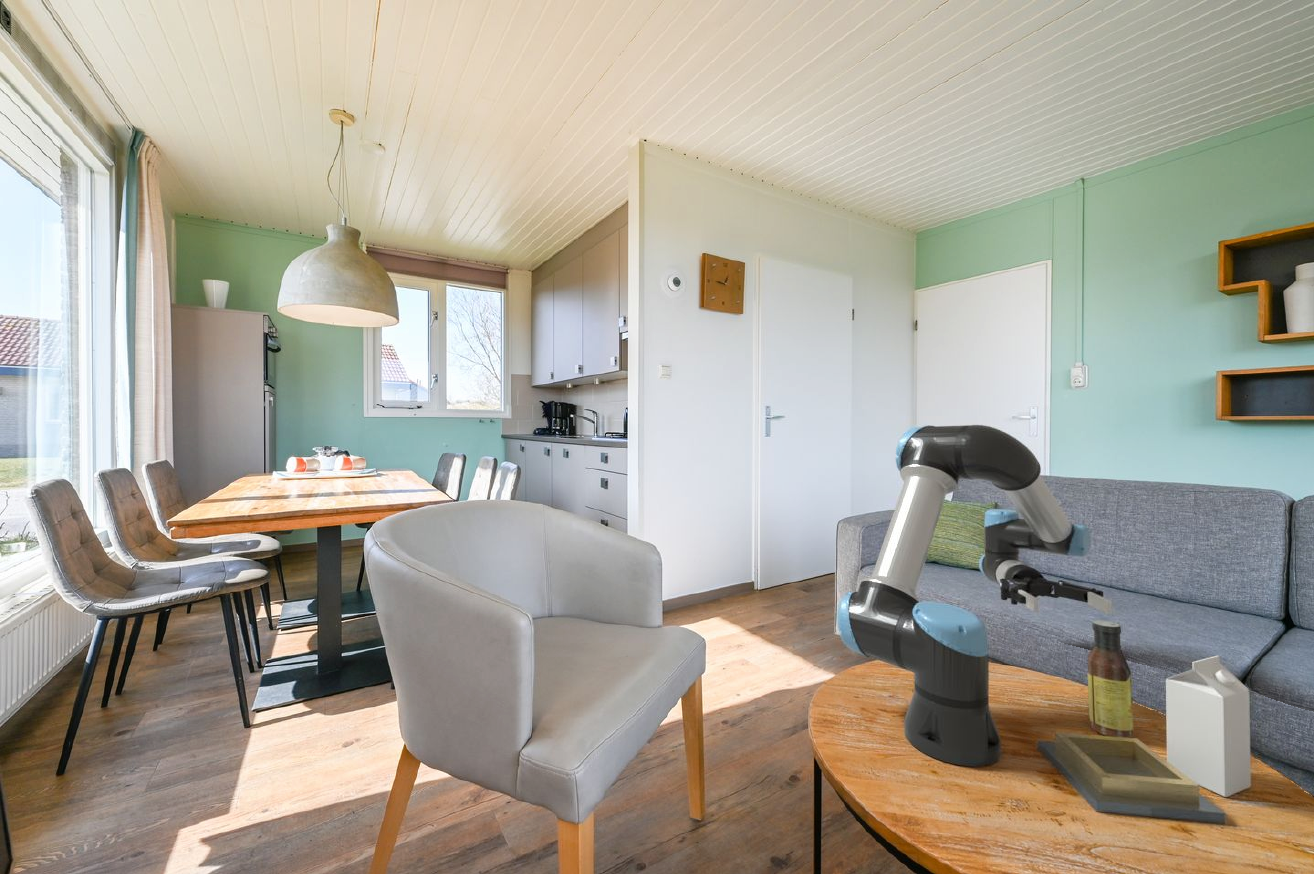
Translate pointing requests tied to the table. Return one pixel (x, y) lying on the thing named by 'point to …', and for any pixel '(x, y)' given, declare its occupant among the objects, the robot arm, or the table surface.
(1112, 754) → the plate
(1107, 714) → the sauce bottle
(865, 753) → the table surface
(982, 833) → the table surface
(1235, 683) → the milk carton
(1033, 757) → the table surface
